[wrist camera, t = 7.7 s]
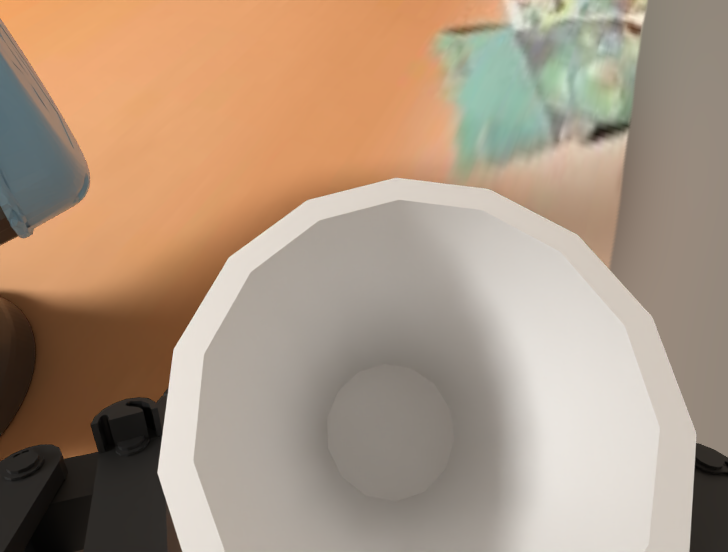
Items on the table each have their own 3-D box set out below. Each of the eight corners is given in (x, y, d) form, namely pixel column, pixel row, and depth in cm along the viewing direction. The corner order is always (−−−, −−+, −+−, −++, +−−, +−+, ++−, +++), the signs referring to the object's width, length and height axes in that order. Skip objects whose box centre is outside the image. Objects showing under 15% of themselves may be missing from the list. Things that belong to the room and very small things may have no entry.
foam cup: (453, 586, 17) (665, 922, 5) (257, 492, 18) (43, 566, 6) (507, 372, 20) (707, 256, 8) (340, 308, 22) (304, 132, 10)
